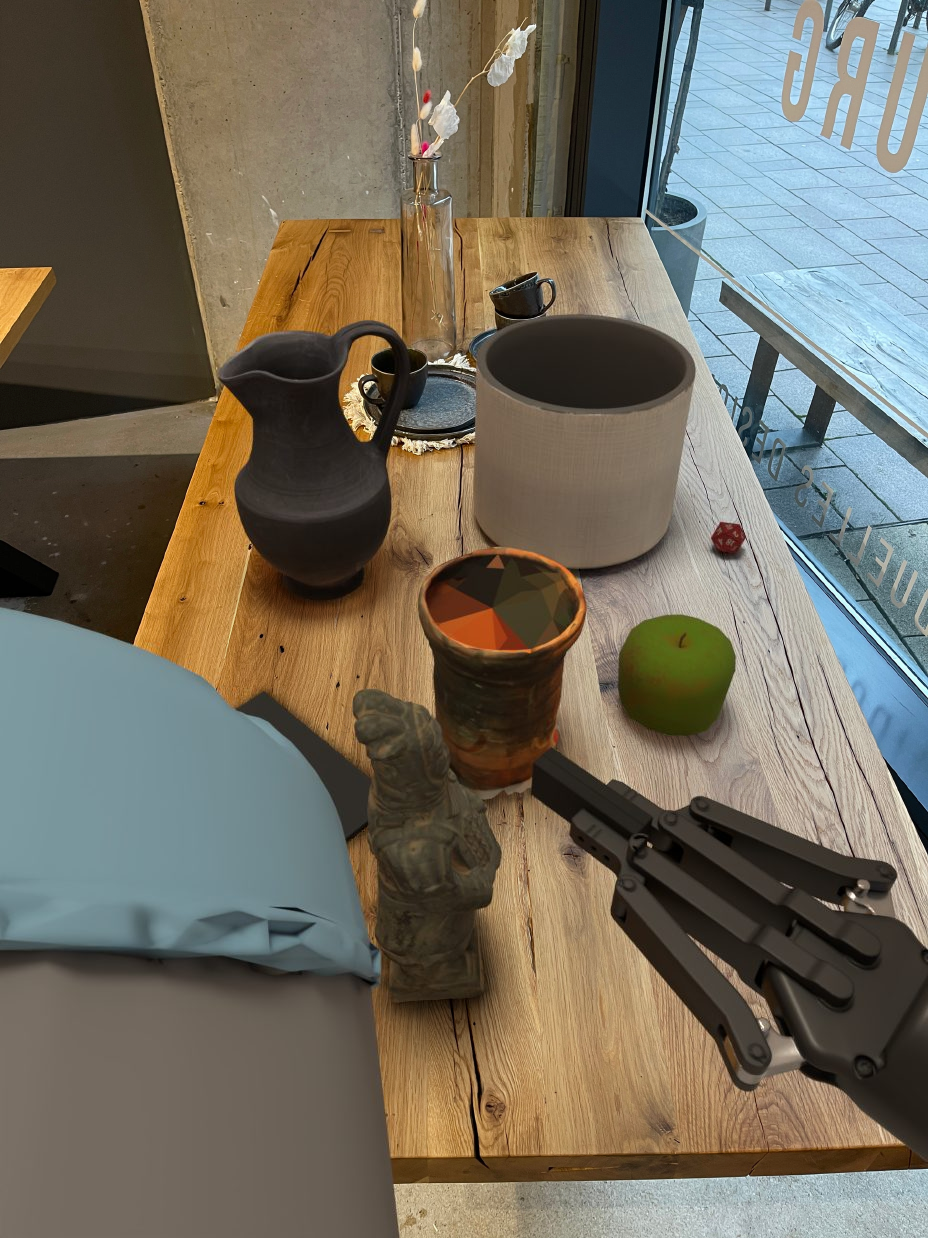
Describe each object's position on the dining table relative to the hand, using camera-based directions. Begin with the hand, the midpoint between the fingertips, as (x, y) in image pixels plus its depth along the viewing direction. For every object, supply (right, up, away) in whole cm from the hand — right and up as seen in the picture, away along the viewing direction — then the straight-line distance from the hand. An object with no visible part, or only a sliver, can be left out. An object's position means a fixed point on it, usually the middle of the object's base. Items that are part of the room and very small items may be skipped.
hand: (541, 771), depth 49 cm
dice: (+28, +17, +65) cm, 73 cm away
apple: (+17, -1, +45) cm, 48 cm away
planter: (+10, +21, +70) cm, 74 cm away
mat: (-23, -8, +38) cm, 45 cm away
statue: (-6, -19, +25) cm, 32 cm away
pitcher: (-19, +14, +62) cm, 66 cm away
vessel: (-1, -5, +41) cm, 42 cm away
